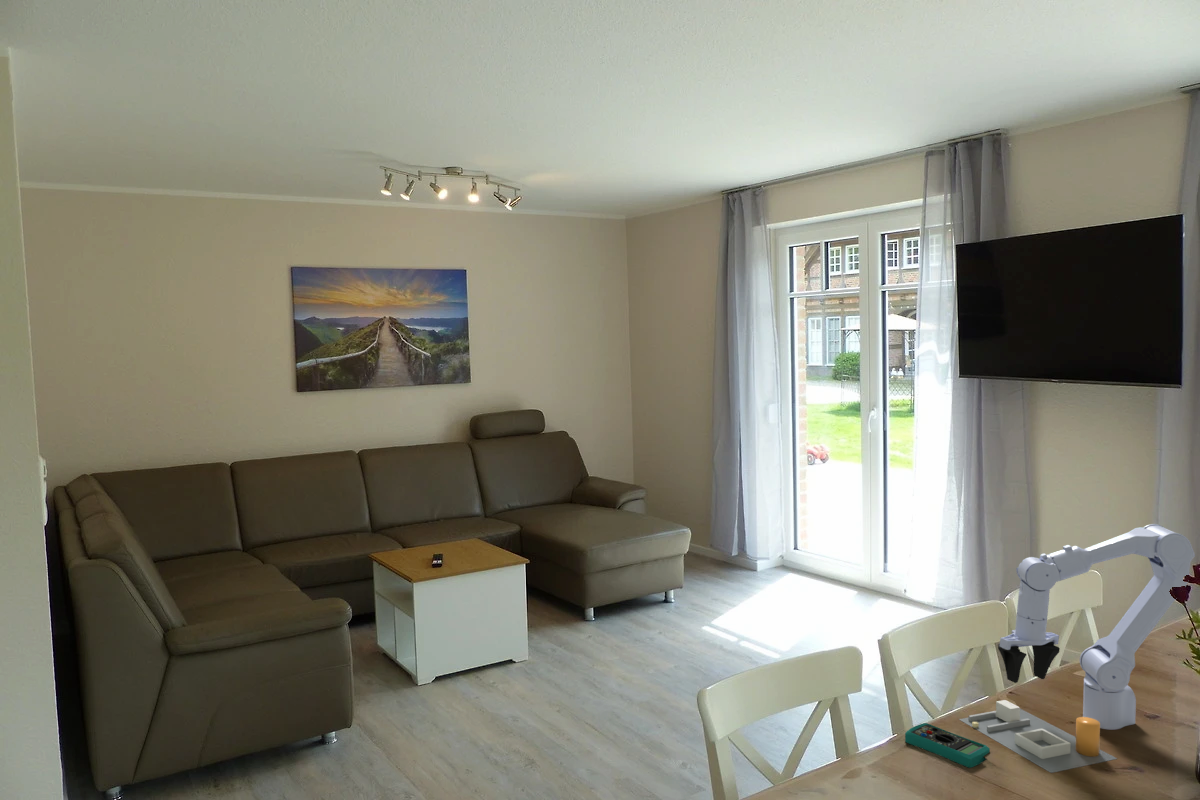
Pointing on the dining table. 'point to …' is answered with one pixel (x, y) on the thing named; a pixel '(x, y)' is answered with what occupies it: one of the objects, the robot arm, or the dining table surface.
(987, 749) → the digital multimeter
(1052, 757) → the panel
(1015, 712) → the block
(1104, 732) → the dining table surface
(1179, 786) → the dining table surface
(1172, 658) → the dining table surface
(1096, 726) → the cap
